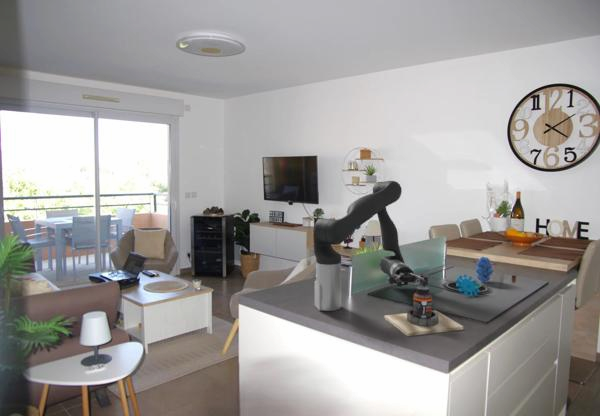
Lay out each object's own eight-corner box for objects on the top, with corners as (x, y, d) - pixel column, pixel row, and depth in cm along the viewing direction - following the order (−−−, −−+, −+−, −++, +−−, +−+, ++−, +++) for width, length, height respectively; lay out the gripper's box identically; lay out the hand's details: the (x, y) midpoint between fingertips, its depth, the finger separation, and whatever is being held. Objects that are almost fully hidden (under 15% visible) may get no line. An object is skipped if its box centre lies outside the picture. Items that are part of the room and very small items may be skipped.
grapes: (486, 287, 185) (487, 259, 184) (471, 283, 190) (472, 257, 189) (499, 282, 192) (500, 256, 191) (484, 279, 197) (485, 253, 196)
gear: (460, 294, 169) (454, 272, 176) (453, 301, 174) (448, 279, 180) (486, 296, 171) (479, 275, 177) (478, 303, 175) (472, 282, 182)
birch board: (407, 336, 133) (407, 333, 133) (384, 318, 148) (384, 315, 148) (463, 329, 138) (463, 326, 138) (435, 312, 153) (435, 310, 153)
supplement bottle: (428, 325, 139) (429, 291, 138) (410, 321, 142) (411, 288, 141) (433, 319, 144) (434, 286, 143) (415, 316, 147) (416, 284, 146)
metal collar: (416, 327, 137) (417, 320, 136) (401, 317, 146) (401, 310, 146) (444, 324, 139) (444, 317, 139) (427, 314, 149) (427, 307, 149)
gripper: (383, 264, 169) (393, 274, 153) (419, 264, 169) (432, 274, 153) (383, 282, 170) (392, 294, 154) (418, 282, 170) (432, 294, 154)
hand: (412, 284), depth 153 cm, fingers open, 8 cm apart
